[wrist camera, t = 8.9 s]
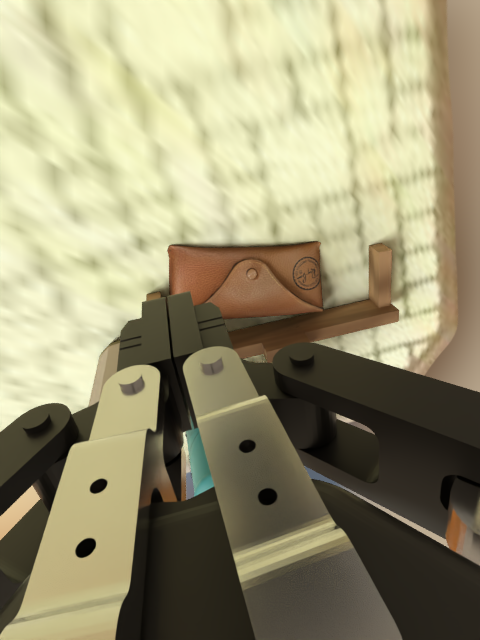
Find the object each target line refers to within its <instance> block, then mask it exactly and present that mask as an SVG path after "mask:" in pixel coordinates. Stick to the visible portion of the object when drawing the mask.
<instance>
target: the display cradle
mask: <svg viewBox="0 0 480 640" xmlns="http://www.w3.org/2000/svg"><path fill="white" fill-rule="evenodd" d="M391 267H392V250H391V249H390V248H388V247H387V246H385V245H383V244H382V243H380V244H375V245H370V246H369V299H368V300H364V301H359V302H355V303H351V304H347V305H342V306H338V307H334V308H329V309H325V310H323V311H322V312H312V313H308V314H304V315H299V316H295V317H291V318H286V319H282V320H278V321H274V322H269V323H265V324H261V325H256V326H252V327H248V328H243V329H239V330H235V331H231V332H228V335H229V337H230V340H231V343H232V346H233V349H234V351H235V352H236V353H237V354H238V356H239V357H240V358H241V359H244V358H248V357H252V356H256V355H260V354H264V356H265V358H266V360H267V362H268V363H271V362H272V361H273V357H274V355H275V354H276V353H277V352H278V351H279V350H280V349H282V348H283V347H285V346H288V345H291V344H294V343H302V342H309V343H310V342H315V341H319V340H323V339H327V338H331V337H335V336H340V335H344V334H348V333H352V332H356V331H360V330H365V329H369V328H373V327H377V326H381V325H385V324H390V323H394V322H398V321H399V310H398V309H397V308H396V307H395V306H393V305H392V304H391ZM158 298H162V297H161V293H160V292H156V293H152V294H147V301H149V300H153V299H158Z"/></svg>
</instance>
